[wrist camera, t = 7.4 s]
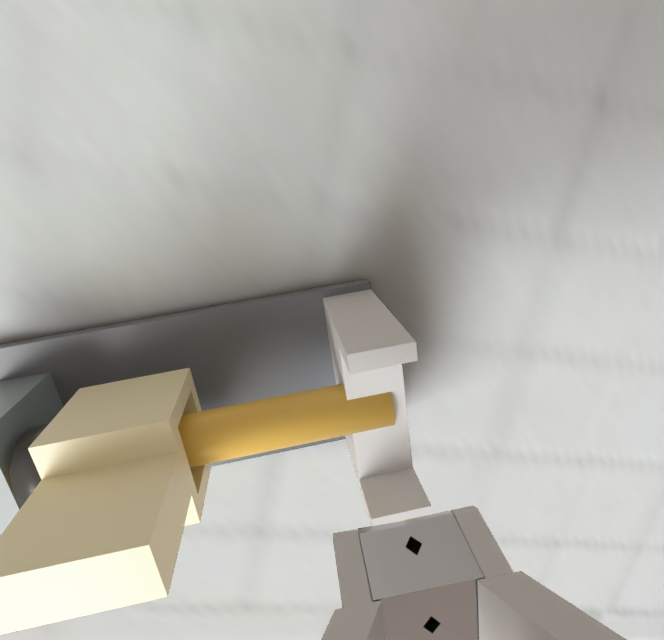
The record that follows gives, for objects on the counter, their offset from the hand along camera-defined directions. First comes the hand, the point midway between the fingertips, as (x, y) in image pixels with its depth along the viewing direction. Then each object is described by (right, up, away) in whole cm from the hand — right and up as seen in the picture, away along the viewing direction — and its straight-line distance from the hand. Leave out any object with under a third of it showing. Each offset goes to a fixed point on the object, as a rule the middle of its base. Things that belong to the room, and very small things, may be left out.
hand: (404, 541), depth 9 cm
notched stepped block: (-9, +1, +8) cm, 12 cm away
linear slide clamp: (-7, +2, +10) cm, 12 cm away
